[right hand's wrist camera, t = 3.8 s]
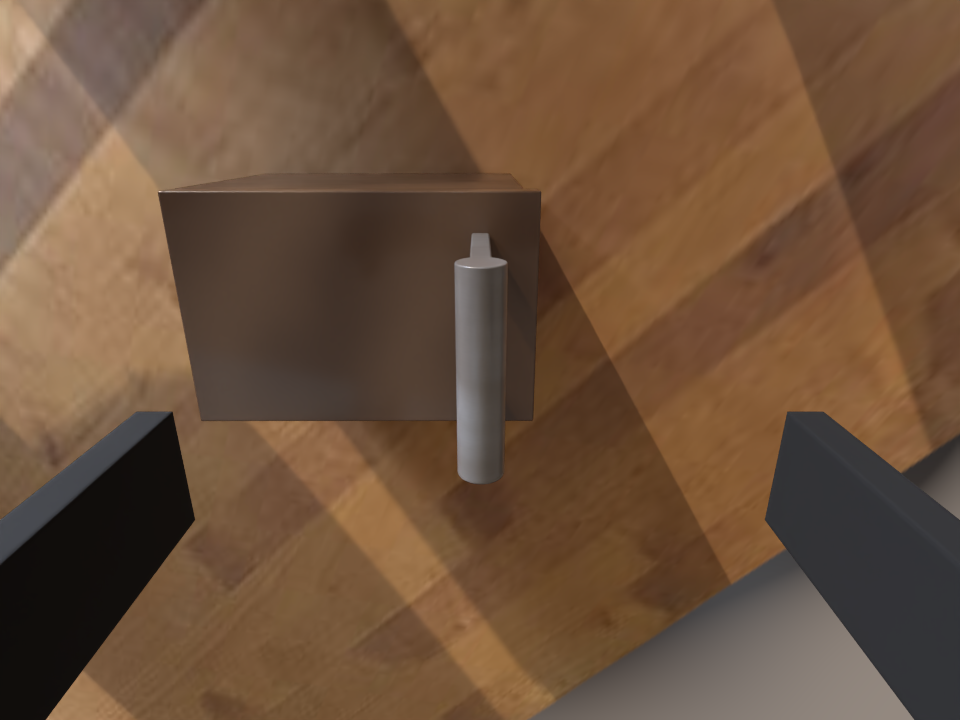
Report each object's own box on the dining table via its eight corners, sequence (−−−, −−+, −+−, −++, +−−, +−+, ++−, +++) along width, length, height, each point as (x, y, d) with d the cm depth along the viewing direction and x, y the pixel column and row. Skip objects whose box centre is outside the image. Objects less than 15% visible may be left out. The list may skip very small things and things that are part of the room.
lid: (538, 188, 23) (568, 214, 15) (530, 410, 26) (552, 522, 19) (171, 188, 23) (15, 214, 15) (211, 410, 26) (100, 522, 19)
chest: (511, 173, 33) (525, 188, 23) (508, 335, 37) (519, 409, 27) (264, 173, 33) (171, 188, 23) (285, 335, 37) (212, 409, 27)
